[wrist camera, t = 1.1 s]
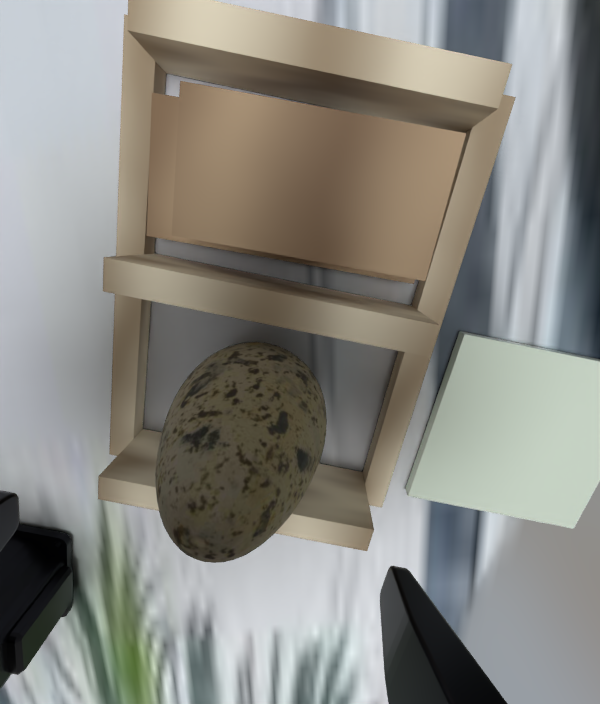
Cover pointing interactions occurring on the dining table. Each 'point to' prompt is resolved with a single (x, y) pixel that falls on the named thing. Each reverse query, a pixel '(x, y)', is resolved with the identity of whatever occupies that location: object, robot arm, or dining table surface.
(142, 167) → the slot rack
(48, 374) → the dining table surface
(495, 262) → the dining table surface
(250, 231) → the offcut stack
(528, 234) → the dining table surface
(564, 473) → the tile
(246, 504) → the decorative egg
